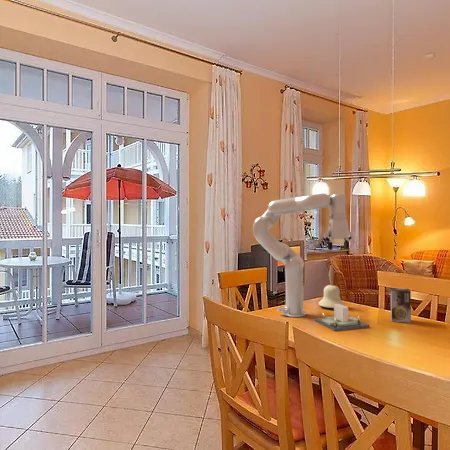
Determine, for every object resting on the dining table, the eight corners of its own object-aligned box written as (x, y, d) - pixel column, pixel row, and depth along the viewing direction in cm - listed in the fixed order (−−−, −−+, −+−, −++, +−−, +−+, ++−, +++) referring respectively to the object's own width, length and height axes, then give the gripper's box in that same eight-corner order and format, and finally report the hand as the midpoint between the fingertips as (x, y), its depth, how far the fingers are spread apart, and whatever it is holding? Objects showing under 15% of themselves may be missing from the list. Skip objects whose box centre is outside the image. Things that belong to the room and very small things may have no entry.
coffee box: (409, 319, 197) (409, 288, 197) (411, 323, 191) (411, 291, 191) (390, 318, 200) (390, 287, 200) (391, 321, 194) (391, 290, 194)
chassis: (334, 331, 179) (334, 321, 179) (314, 320, 198) (314, 311, 198) (369, 327, 184) (369, 317, 184) (346, 317, 203) (346, 308, 203)
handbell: (331, 311, 215) (331, 267, 215) (312, 306, 229) (312, 264, 228) (350, 308, 223) (350, 265, 222) (331, 303, 236) (331, 263, 235)
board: (333, 326, 182) (333, 310, 182) (318, 319, 195) (318, 303, 195) (364, 323, 187) (364, 307, 186) (347, 316, 200) (347, 301, 200)
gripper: (327, 217, 197) (327, 250, 197) (356, 217, 202) (356, 249, 202) (320, 217, 204) (320, 249, 205) (348, 217, 209) (348, 248, 209)
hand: (338, 249), depth 203 cm, fingers open, 9 cm apart
